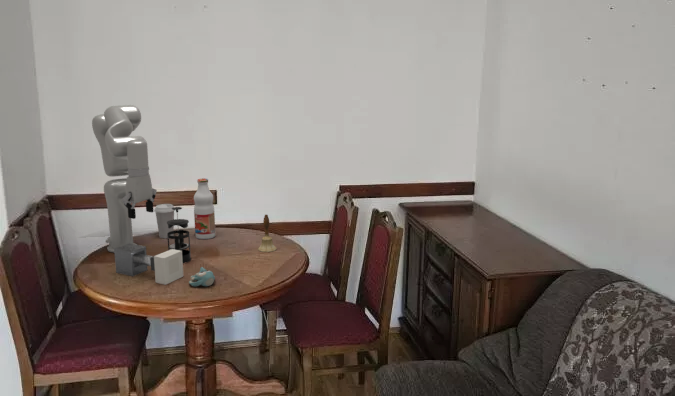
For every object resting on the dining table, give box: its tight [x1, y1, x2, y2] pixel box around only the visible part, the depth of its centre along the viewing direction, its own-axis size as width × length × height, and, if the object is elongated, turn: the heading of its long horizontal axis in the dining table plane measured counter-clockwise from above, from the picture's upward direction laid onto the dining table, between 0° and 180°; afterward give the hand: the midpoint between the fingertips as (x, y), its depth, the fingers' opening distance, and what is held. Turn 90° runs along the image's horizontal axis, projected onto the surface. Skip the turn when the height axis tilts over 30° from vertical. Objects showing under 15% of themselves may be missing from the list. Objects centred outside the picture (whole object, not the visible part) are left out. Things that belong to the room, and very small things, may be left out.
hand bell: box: [257, 214, 277, 253], centre depth 270 cm, size 8×8×16 cm
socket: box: [153, 249, 184, 286], centre depth 234 cm, size 5×10×10 cm, turn 154°
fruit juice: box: [193, 177, 216, 240], centre depth 288 cm, size 9×9×28 cm
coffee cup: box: [153, 203, 176, 239], centre depth 289 cm, size 10×10×15 cm
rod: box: [133, 253, 157, 272], centre depth 237 cm, size 19×5×5 cm, turn 64°
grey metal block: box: [114, 243, 149, 277], centre depth 242 cm, size 9×8×10 cm
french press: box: [167, 206, 192, 264], centre depth 255 cm, size 12×9×23 cm
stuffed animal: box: [188, 266, 216, 288], centre depth 231 cm, size 11×7×12 cm
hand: (141, 215), depth 237 cm, fingers open, 9 cm apart
